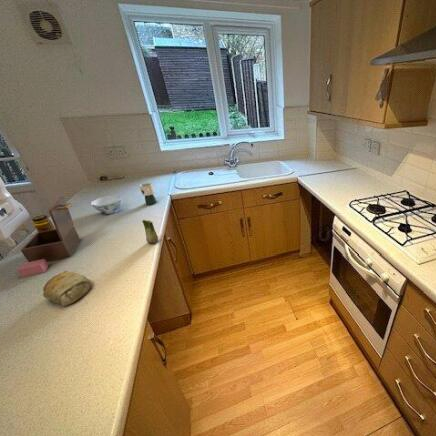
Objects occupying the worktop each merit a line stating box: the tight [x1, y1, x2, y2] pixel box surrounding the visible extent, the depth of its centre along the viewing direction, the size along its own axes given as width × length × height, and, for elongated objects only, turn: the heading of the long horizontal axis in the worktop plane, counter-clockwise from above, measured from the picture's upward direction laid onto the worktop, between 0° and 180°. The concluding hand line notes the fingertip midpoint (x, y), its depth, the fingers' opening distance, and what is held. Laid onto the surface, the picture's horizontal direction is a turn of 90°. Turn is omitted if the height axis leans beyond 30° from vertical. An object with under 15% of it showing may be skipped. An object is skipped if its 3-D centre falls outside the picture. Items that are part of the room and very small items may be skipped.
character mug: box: [139, 182, 157, 205], centre depth 155 cm, size 11×7×13 cm, turn 37°
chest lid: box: [48, 196, 75, 241], centre depth 106 cm, size 14×16×4 cm
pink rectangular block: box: [16, 259, 49, 278], centre depth 97 cm, size 7×4×4 cm, turn 115°
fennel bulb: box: [141, 219, 159, 245], centre depth 113 cm, size 6×5×12 cm
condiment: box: [31, 214, 56, 232], centre depth 118 cm, size 7×8×12 cm
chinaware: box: [90, 195, 123, 215], centre depth 145 cm, size 15×15×8 cm
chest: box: [20, 225, 81, 263], centre depth 108 cm, size 14×16×8 cm
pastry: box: [42, 270, 91, 307], centre depth 85 cm, size 14×12×8 cm
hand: (19, 239), depth 92 cm, fingers open, 8 cm apart
